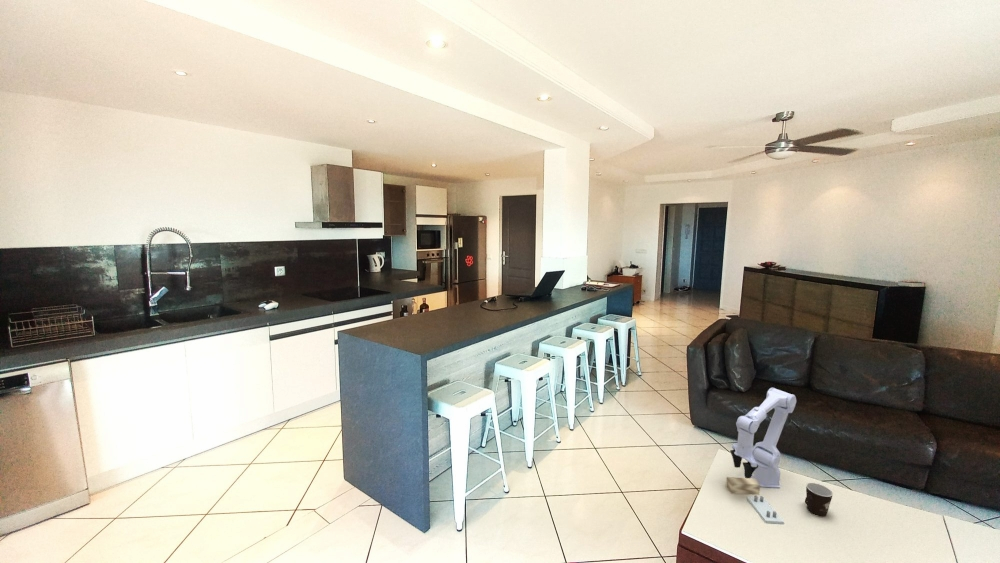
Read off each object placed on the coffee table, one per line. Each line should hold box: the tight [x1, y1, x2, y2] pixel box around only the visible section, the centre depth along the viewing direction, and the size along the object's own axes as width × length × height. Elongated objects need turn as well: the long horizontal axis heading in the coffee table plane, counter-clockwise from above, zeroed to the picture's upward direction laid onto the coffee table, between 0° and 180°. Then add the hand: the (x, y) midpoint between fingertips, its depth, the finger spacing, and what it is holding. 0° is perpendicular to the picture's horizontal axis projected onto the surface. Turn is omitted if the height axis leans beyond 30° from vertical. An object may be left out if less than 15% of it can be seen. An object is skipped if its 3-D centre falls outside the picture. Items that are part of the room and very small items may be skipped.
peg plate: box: [746, 495, 785, 525], centre depth 163 cm, size 14×7×3 cm, turn 175°
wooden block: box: [725, 476, 761, 495], centre depth 175 cm, size 12×4×5 cm, turn 86°
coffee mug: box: [804, 482, 834, 518], centre depth 162 cm, size 12×9×10 cm
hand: (742, 472), depth 173 cm, fingers open, 7 cm apart
